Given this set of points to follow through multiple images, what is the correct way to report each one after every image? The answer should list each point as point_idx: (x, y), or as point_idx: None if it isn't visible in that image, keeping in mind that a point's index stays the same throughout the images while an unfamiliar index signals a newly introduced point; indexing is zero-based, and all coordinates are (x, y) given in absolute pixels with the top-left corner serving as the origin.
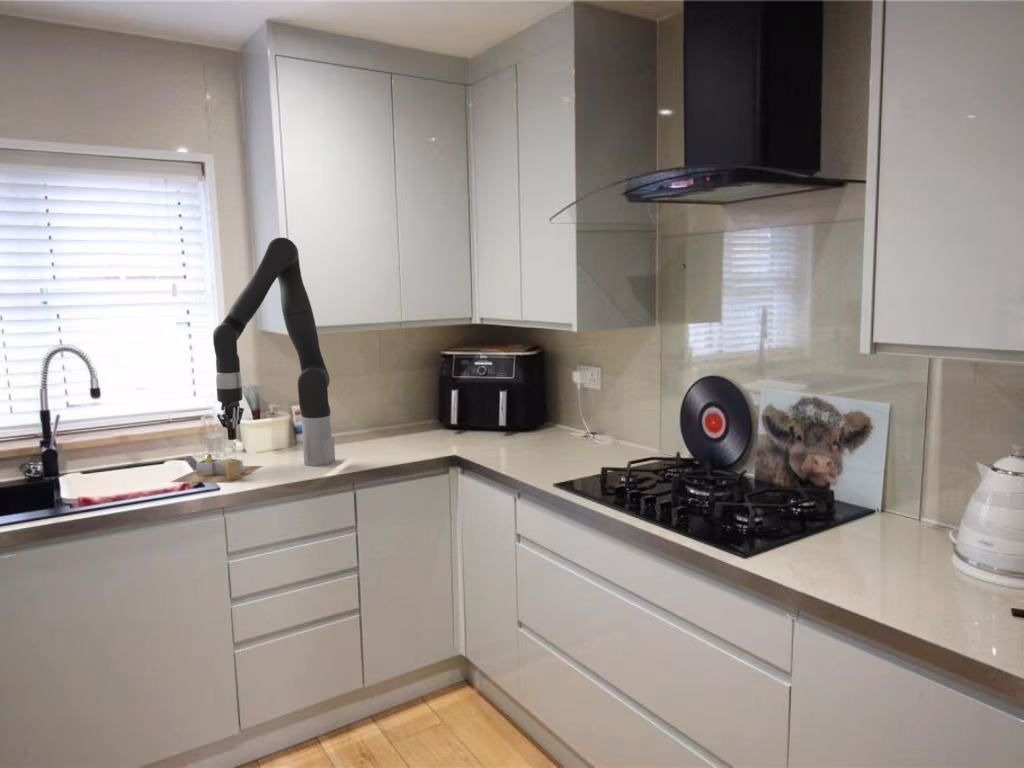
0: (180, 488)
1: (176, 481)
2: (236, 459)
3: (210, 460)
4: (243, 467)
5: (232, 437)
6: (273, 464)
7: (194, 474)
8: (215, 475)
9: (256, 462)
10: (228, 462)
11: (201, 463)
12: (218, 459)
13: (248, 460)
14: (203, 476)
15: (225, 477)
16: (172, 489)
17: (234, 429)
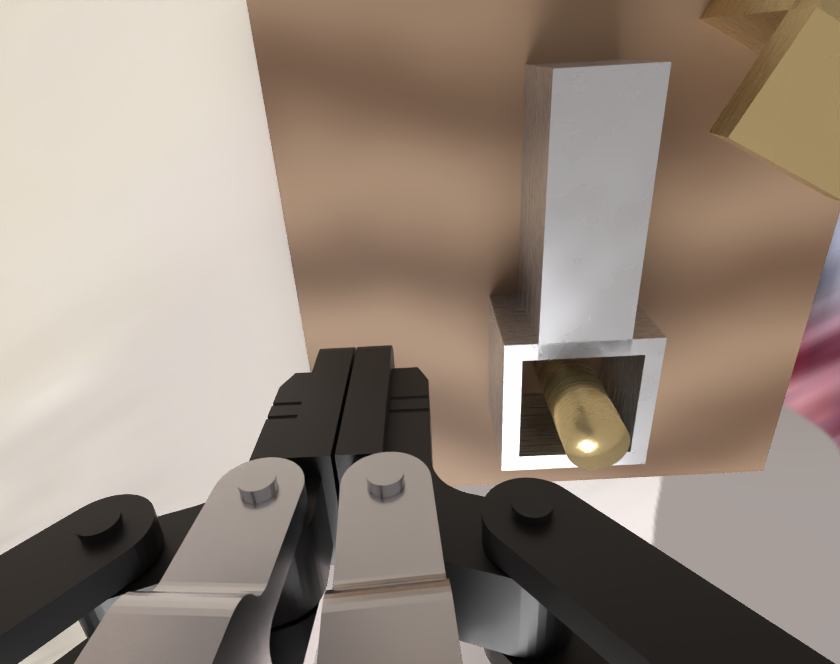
0: (812, 370)
1: (762, 441)
2: (814, 10)
3: (596, 390)
4: (335, 181)
5: (413, 375)
6: (18, 22)
7: None
8: None
9: (27, 240)
10: None
11: (651, 422)
12: (511, 360)
13: (2, 340)
14: None
15: (694, 146)
16: (827, 403)
17: (358, 440)
